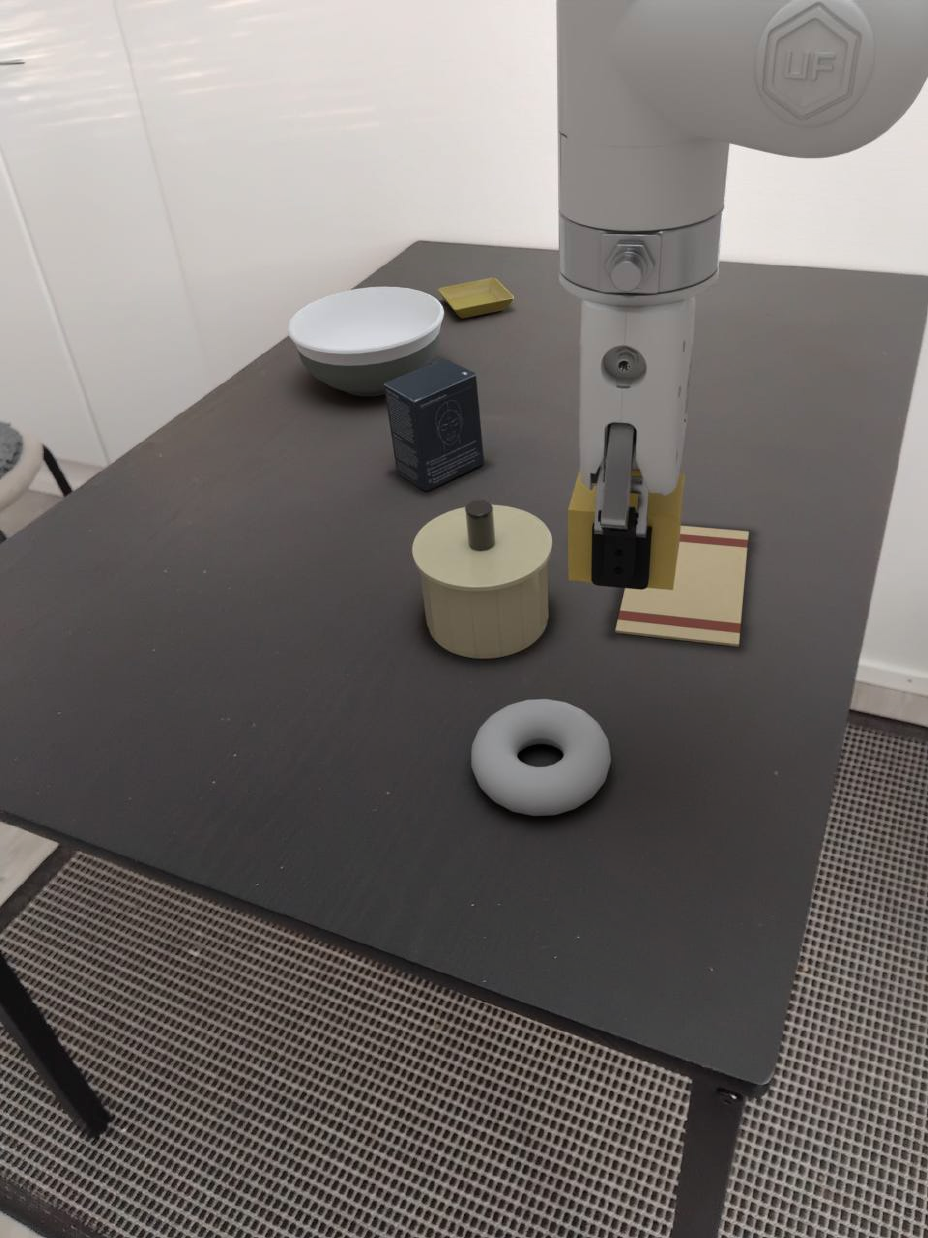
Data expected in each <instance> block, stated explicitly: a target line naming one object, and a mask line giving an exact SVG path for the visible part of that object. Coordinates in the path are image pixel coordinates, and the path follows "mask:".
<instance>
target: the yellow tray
mask: <svg viewBox="0 0 928 1238" xmlns="http://www.w3.org/2000/svg"><path fill="white" fill-rule="evenodd" d="M437 292H438V294H439V295H440V296H441V298H442V299H444V301H445V302H446V303H447V304H448V305H449V306H450V308H451V309H452V310H453V312H454V313H455V314H456V315H457V316H458V318H459V317H460V318H461V319H468V318H473V317H477V316H482V315H486V314H491V313H497V312H502V311H503V310H505V309H507V308H508V307H509V306H510V305H511V303H512V302H513V301H514V299H515V297H514V295H513V294H512V293H511V292H510V291H509V290H508V289H507V288H506V287H505V286H504V285H503V284H502V283H501V282H500V281H499V280H498V279H497V278H496V277H489V278H483V279H479V280H478V279H477V280H473V281H468V282H464V283H458V284H454V285H447V286H443V287H440V288H438V289H437Z"/></svg>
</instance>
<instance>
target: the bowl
mask: <svg viewBox="0 0 928 1238" xmlns="http://www.w3.org/2000/svg"><path fill="white" fill-rule="evenodd" d="M444 316H445V310H444V307H443V305H442V304H441V302H440V301H439V300H438V299H437V297H434V296H433V295H431V294H429V293H426V292H425V291H421V290H418V289H413V288H408V287H400V286H369V287H360V288H355V289H349V290H344V291H339V292H336V293H332V294H329V295H327V296H323V297H320V298H317V299H316V300H313V301H312V302H310V303H308V304H306V305H304V306H303V307H301V308H300V309H299V310H297V311H296V312H295V313H294V314H293V315H292V316H291V318H290V319H289V322H288V323H287V334H288V336H289V338H290V339H291V341H292V342H293V343H294V345H295V347H296V350H297V353H298V355H299V359H300V361H301V363H302V365H303V366H304V367H305V368H306V369H307V371H308V372H309V373H310V374H311V375H312V376H313V377H314V378H315V379H316V380H319V381H320V382H321V383H324V384H325V385H328V386H329V387H331V388H334V389H337V390H339V391H342V392H346V393H347V394H350V395H353V396H356V397H377V396H378V397H379V396H383V395H385V389H384V383H386V382H388V381H391V380H393V379H396V378H398V377H400V376H403V375H405V374H408V373H410V372H412V371H415V370H417V369H420V368H422V367H424V366H427V365H429V364H432V361H433V360H434V358H435V356H436V354H437V352H438V349H439V347H440V342H441V324H442V322H443V319H444Z"/></svg>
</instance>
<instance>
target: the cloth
mask: <svg viewBox="0 0 928 1238" xmlns="http://www.w3.org/2000/svg"><path fill="white" fill-rule="evenodd" d="M749 535H750V532H749V531H747V530H737V529H725V528H724V529H723V528H715V527H714V528H712V527H703V526H702V527H701V526H691V525H681V530H680V541H679V550H678V557H677V564H676V572H675V579H674V586H673V590H665V589H655V588H646V589H643V590H639V589H628V588H624V590H623V591H624V592H623V595H622V596H623V597H622V599H621V604H620V608H619V613H618V617H617V622H616V625H615V631H614V633H615V634H624V635H630V636H640V637H642V636H643V637H650V638H658V639H666V640H676V641H684V642H693V643H702V644H708V645H709V644H710V645H718V646H727V647H728V646H729V647H737V648H739V647H740V639H741V626H742V616H743V615H742V614H743V603H744V593H745V592H744V591H745V580H746V571H747V569H746V568H747V557H748V547H749V545H748V544H749Z"/></svg>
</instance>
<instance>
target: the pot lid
mask: <svg viewBox="0 0 928 1238" xmlns="http://www.w3.org/2000/svg"><path fill="white" fill-rule="evenodd" d="M552 552H553V538H552V534H551V531H550V529H549V528H548V527H547V525H546V524H545V522H543V521H542V519H540V518H539V517H537V516H536V515H534V514H532V513H530V512H529V511H526V510H523V509H520V508H517V507H514V506H510V505H509V506H508V505H501V504H492V503H491V502H490V501H488V500H485V499H475V500H472V501H470V502H468V503H467V504H466V505H465V506H463V507H458V508H454V509H452V510H449V511H446V512H445V513H442V514H440V515H438V516H436V517H434V518H433V519H431V520H430V521H428V522H427V523H426V524H425V525H423V526H422V528H421V529H420V530H419V531H418V532H417V534H416V535H415V537H414V540H413V542H412V546H411V554H412V560H413V563H414V565H415V567H416V569H417V570H418V571H419V573H420V572H421V574H423V575H424V576H425V577H426V578H427V579H429V580H430V581H432V582H434V583H436V584H438V585H441V586H443V587H446V588H450V589H454V590H460V591H470V592H484V591H493V590H499V589H503V588H507V587H511V586H514V585H516V584H519V583H521V582H523V581H525V580H527V579H529V578H531V577H532V576H534V575H535V574H536V573H538V572H539V571H540V570H541V569H542V568H543V567H544V566H545V565H546V563H547V564H548V561H549V560H550V557H552V556H551V555H552Z"/></svg>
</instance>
